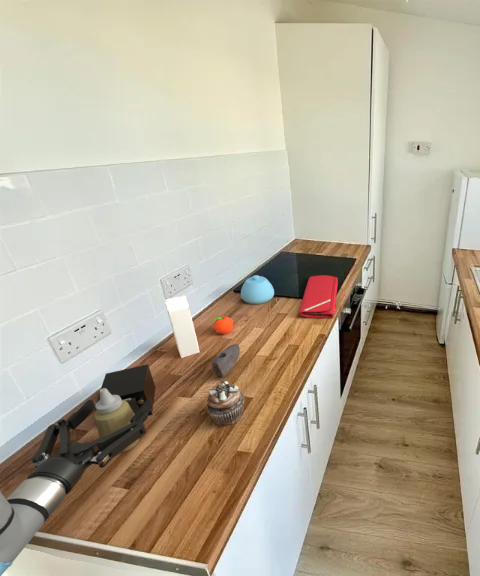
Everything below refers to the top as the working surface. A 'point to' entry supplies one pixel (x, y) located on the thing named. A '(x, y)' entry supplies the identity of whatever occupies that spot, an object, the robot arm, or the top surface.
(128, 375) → the toaster oven
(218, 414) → the cupcake
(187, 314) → the milk
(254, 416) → the top surface
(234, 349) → the perforated stone tool
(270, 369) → the top surface
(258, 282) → the sugar bowl
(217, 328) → the clementine
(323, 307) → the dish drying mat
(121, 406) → the squeeze bottle
